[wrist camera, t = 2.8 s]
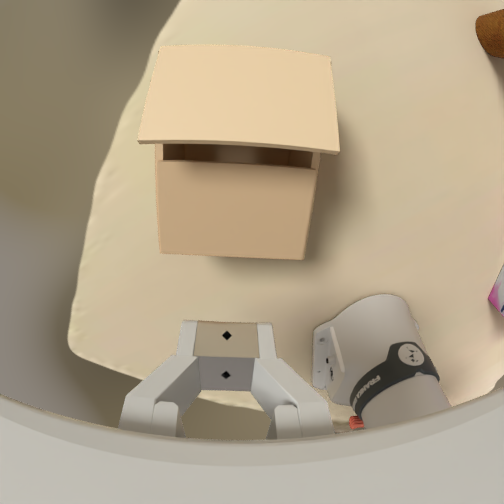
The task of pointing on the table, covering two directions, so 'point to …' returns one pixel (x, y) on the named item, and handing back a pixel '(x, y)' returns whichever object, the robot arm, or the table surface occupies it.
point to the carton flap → (241, 98)
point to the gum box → (498, 293)
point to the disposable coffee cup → (491, 32)
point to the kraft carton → (234, 200)
